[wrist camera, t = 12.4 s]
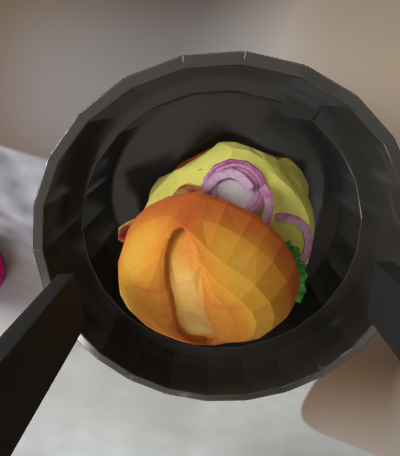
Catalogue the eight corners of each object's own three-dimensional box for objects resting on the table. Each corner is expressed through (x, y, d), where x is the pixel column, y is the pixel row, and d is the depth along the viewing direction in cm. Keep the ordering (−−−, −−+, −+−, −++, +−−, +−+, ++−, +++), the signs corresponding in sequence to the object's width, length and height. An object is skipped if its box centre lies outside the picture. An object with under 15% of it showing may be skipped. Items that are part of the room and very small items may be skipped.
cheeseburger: (343, 224, 21) (386, 352, 13) (217, 286, 26) (188, 407, 18) (253, 95, 18) (232, 149, 10) (131, 193, 23) (48, 284, 15)
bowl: (341, 326, 25) (384, 398, 19) (107, 332, 26) (75, 403, 20) (377, 57, 18) (462, 35, 12) (55, 79, 19) (-19, 68, 13)
